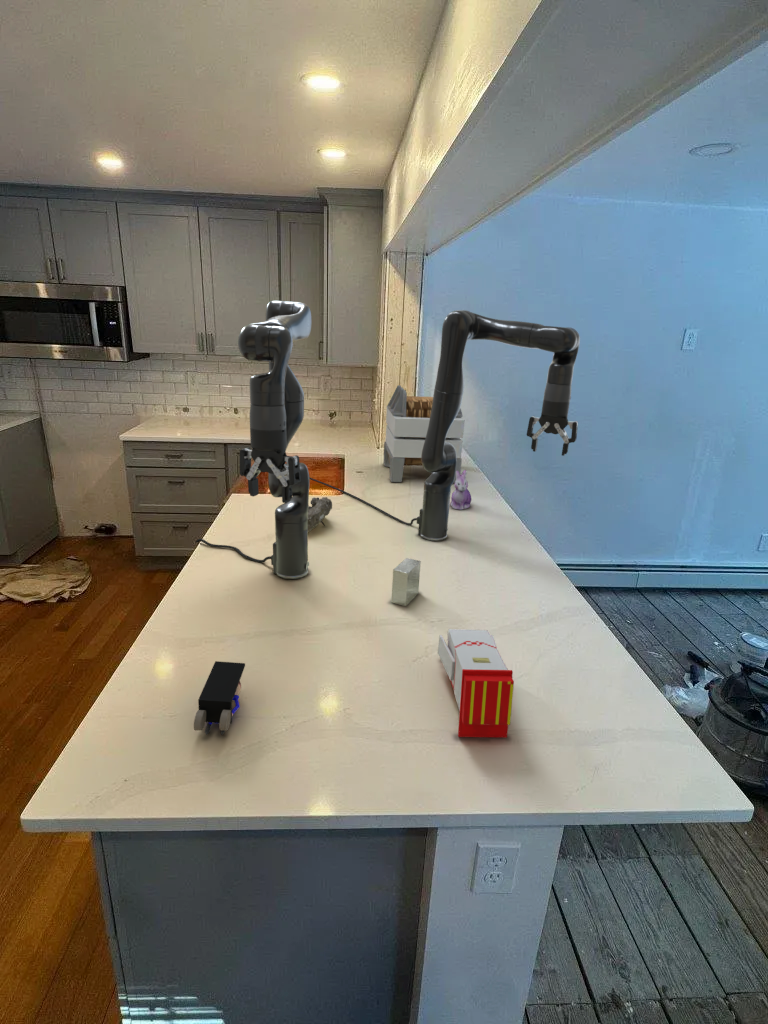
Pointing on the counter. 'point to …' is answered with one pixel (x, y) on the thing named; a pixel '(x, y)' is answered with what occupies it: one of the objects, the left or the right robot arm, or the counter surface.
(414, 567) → the block
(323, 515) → the fossil
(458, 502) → the figurine
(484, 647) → the toy
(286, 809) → the counter surface
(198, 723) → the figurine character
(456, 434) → the grey slatted box
